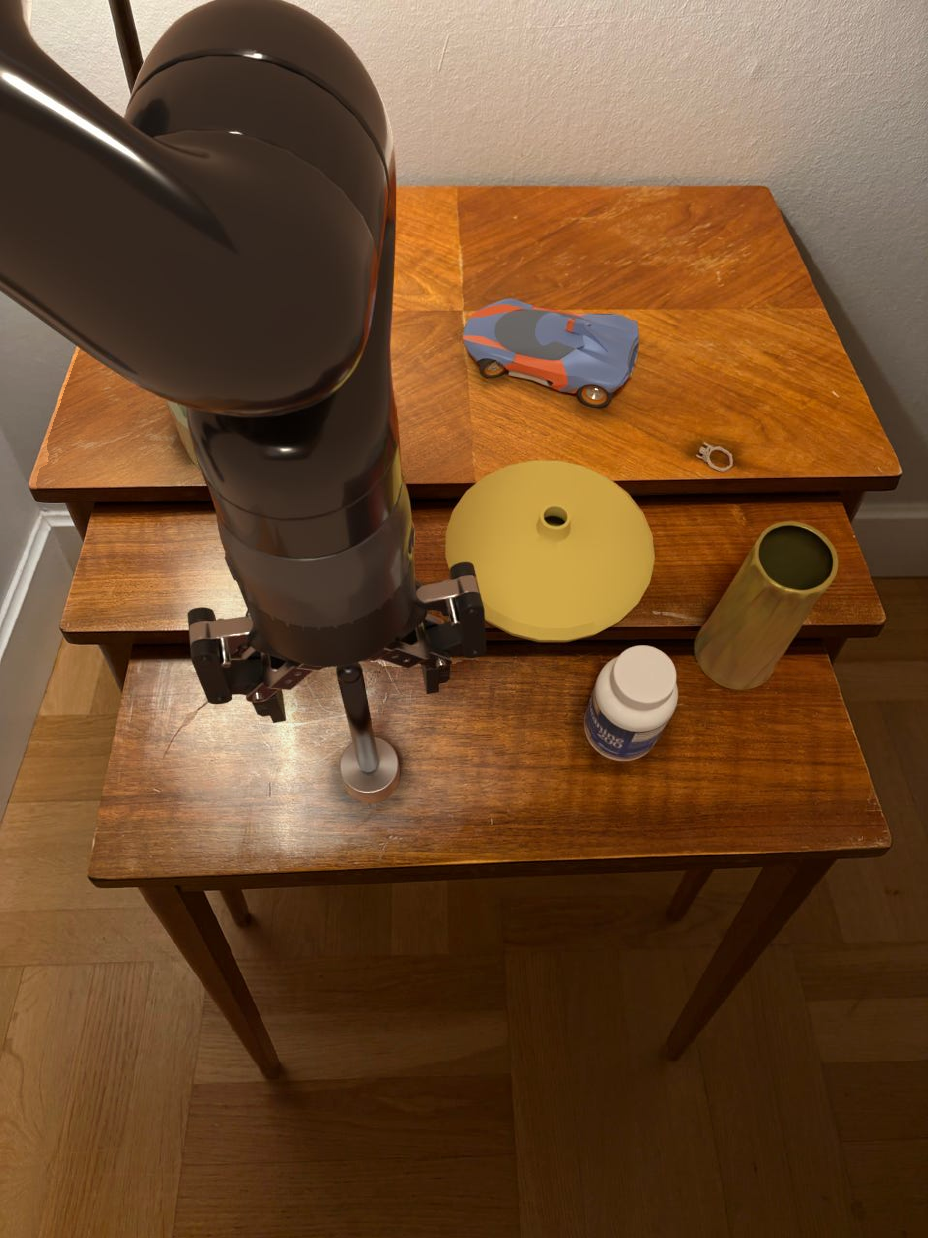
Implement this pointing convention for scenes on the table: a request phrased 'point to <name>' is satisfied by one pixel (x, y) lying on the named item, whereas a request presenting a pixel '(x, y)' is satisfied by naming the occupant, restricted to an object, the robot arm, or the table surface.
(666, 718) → the pill bottle
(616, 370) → the toy car
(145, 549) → the table surface
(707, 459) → the ring
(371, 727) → the rod with round foot
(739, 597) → the vase
